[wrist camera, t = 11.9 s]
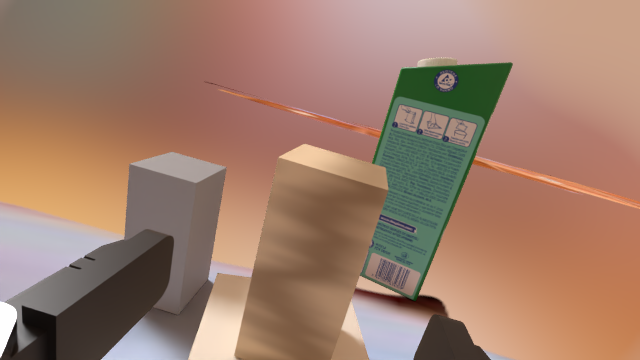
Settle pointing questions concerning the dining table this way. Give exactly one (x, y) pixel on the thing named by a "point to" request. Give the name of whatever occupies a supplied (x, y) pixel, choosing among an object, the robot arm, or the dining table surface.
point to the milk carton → (427, 163)
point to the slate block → (177, 217)
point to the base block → (226, 316)
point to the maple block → (310, 254)
